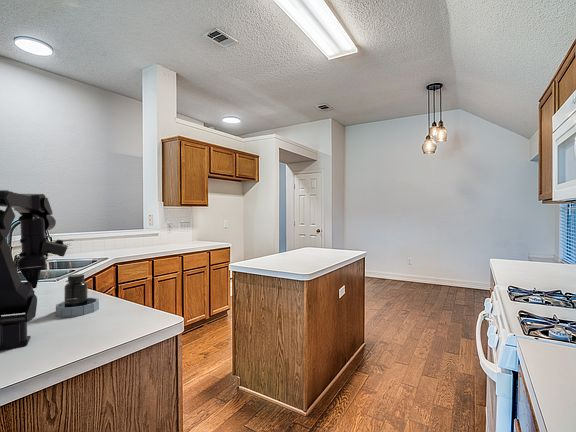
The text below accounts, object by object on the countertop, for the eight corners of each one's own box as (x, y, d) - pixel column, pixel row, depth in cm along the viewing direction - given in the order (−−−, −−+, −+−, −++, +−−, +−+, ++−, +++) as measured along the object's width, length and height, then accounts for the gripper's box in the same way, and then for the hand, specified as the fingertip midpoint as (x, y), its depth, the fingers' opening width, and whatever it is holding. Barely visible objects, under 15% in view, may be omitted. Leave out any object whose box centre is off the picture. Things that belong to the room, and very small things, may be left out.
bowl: (99, 312, 109) (99, 303, 109) (54, 319, 102) (54, 310, 102) (98, 303, 120) (98, 295, 120) (57, 309, 113) (57, 301, 113)
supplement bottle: (67, 313, 106) (66, 278, 106) (62, 309, 111) (61, 275, 110) (90, 308, 111) (89, 275, 111) (84, 304, 116) (84, 272, 115)
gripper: (65, 236, 93) (67, 287, 94) (65, 230, 108) (67, 274, 109) (15, 239, 86) (18, 294, 87) (23, 231, 101) (25, 279, 103)
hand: (35, 284), depth 97 cm, fingers open, 9 cm apart
